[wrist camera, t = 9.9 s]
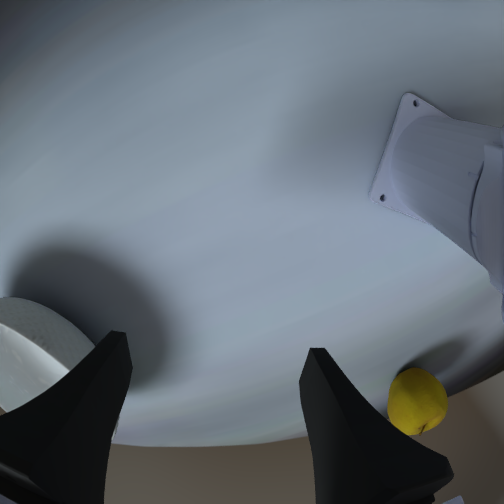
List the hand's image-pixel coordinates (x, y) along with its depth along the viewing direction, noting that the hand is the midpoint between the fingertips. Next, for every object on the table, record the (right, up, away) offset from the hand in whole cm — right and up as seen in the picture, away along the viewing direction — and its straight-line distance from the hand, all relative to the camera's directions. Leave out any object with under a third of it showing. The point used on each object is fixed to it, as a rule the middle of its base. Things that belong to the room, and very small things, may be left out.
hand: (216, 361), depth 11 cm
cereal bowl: (-18, -5, +14) cm, 23 cm away
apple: (+18, -9, +17) cm, 26 cm away
